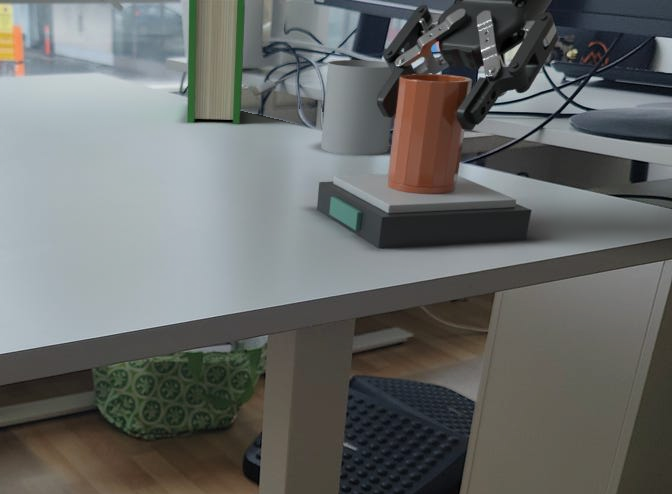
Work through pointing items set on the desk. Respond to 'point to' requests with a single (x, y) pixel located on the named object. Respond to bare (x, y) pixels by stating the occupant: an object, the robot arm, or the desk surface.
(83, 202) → the desk surface
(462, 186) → the scale
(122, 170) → the desk surface
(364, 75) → the cup
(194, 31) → the hardback book
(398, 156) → the tumbler
